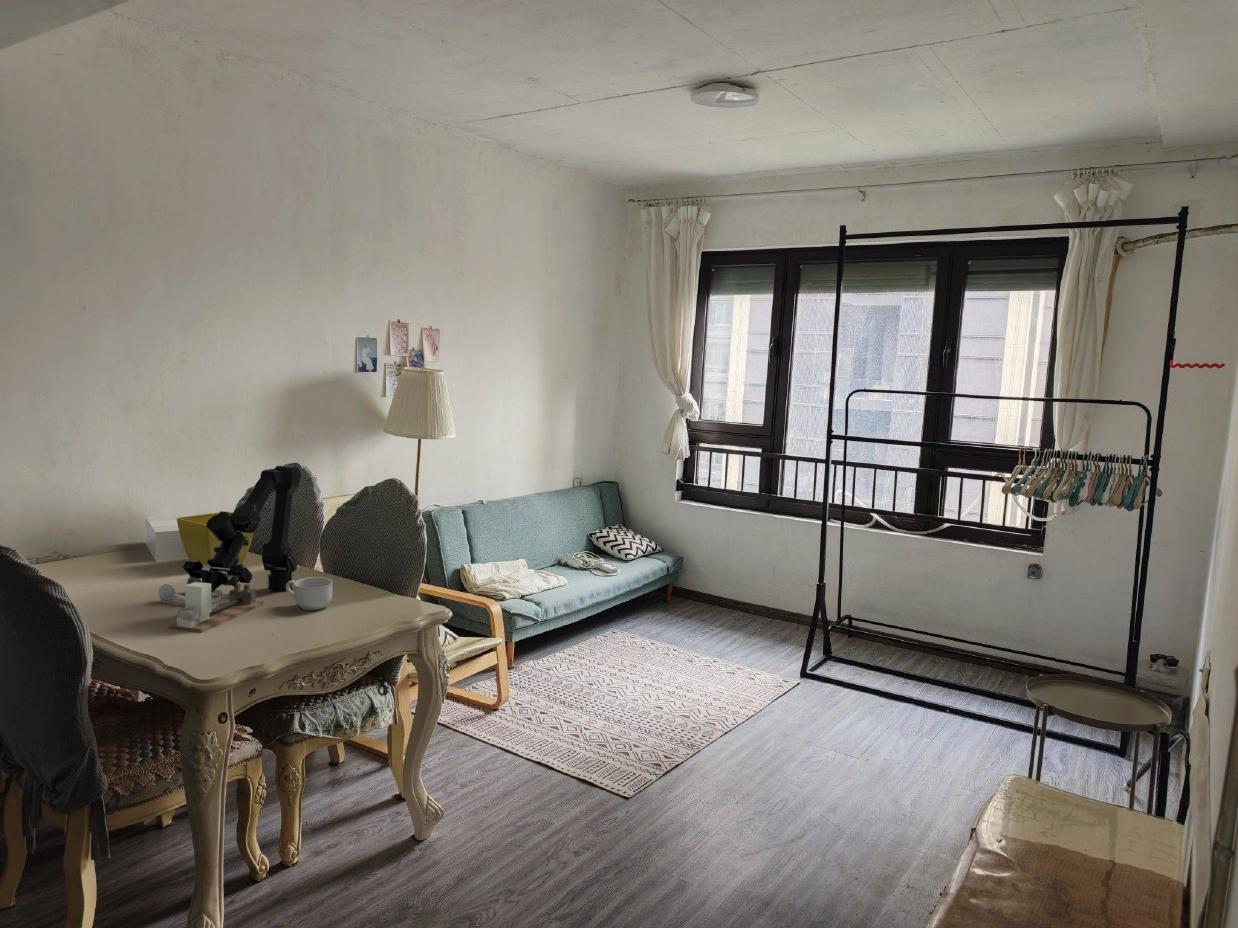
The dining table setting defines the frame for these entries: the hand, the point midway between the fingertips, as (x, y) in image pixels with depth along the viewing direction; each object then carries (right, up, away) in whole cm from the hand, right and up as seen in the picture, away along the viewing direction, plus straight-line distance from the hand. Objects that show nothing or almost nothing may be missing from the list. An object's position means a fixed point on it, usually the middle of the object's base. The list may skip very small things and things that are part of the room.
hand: (203, 597), depth 234 cm
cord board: (+1, -6, +7) cm, 9 cm away
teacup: (+22, -6, +20) cm, 30 cm away
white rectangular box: (-53, +4, +81) cm, 97 cm away
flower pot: (-27, +1, +64) cm, 70 cm away
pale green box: (-1, -6, -2) cm, 6 cm away
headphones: (-15, -4, +24) cm, 28 cm away
